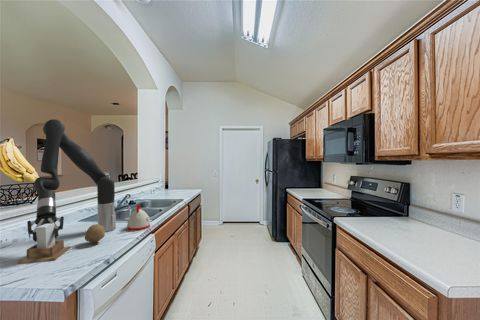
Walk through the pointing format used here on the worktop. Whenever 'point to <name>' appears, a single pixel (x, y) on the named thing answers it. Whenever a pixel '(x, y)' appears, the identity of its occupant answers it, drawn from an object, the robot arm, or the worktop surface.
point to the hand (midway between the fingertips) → (45, 238)
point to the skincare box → (45, 235)
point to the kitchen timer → (138, 220)
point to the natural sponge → (94, 233)
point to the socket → (45, 253)
